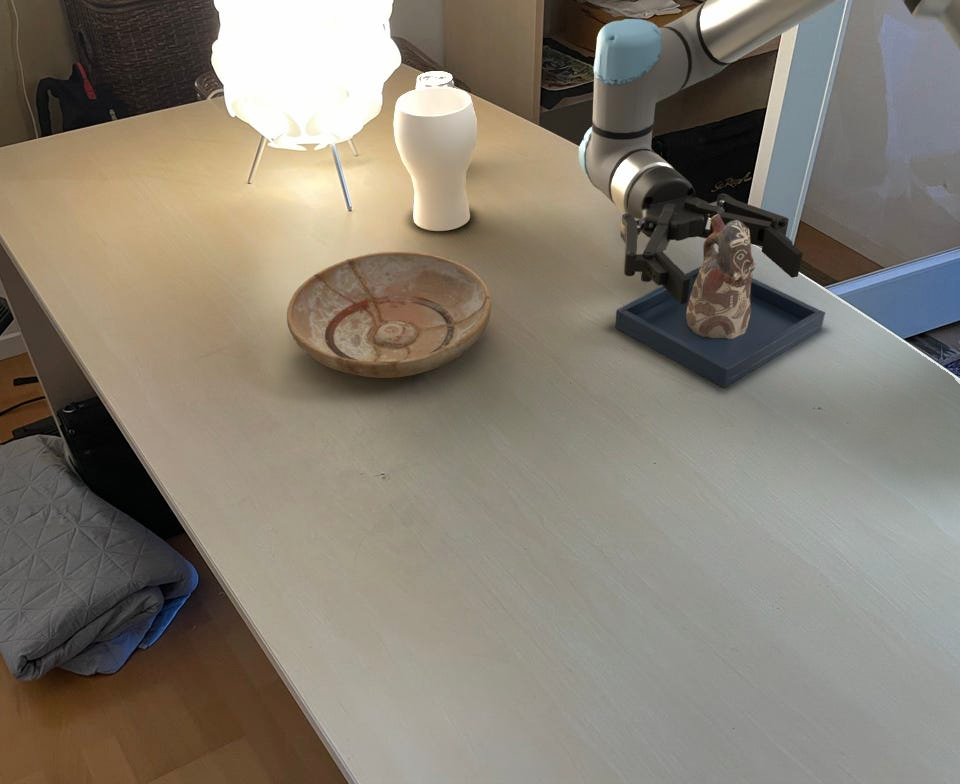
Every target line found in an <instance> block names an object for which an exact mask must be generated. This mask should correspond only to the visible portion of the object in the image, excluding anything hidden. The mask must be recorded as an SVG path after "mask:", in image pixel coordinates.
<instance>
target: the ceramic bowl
mask: <svg viewBox="0 0 960 784" xmlns="http://www.w3.org/2000/svg"><path fill="white" fill-rule="evenodd" d="M491 312H492V301H491V295H490V292H489V289H488V287H487V286H486V284H485V283H484V281H483V280H482V278H481V277H480V276H478V275H477V274H476V273H475V272H474V271H473V270H471V269H470V268H468V267H466V266H465V265H463V264H461V263H459V262H457V261H454V260H452V259H449V258H445V257H442V256H439V255H434V254H430V253H426V252H425V253H424V252H416V251H379V252H373V253H367V254H362V255H358V256H355V257H352V258H347V259H345V260H343V261H339V262H336V263H334V264H332V265H330V266H328V267H326V268H324V269H322V270H320V271H318V272H316V273H315V274H313V275H312V276H310V277H309V278H307V280H305V281H304V282H303V283H302V284H301V285H300V286H299V287H298V288H297V289H296V291H294V293H293V294H292V297H291V298H290V300H289V303H288V306H287V310H286V322H287V323H286V324H287V327H288V331H289V333H290V334H291V336H292V338H293V341H295V343H296V344H297V345H298V347H299V348H300V349H301V350H303V351H304V352H305V353H306V354H307V355H308V356H309V357H311V358H312V359H313V360H315V361H317V362H319V363H320V364H321V365H323V366H326V367H328V368H331V369H333V370H336V371H340V372H343V373H347V374H351V375H357V376H361V377H367V378H379V379H383V378H387V379H388V378H401V377H409V376H414V375H418V374H421V373H425V372H428V371H431V370H434V369H437V368H439V367H443V366H444V365H446V364H449V363H451V362H452V361H454V360H455V359H457V358H459V357H460V356H462V354H464V353H465V352H466V351H467V350H469V349H471V347H473V345H474V344H475V343H476V342H477V340H478V339H479V338H480V337H481V335H483V332H484V331H485V330H486V329H487V326H488V323H489V320H490V317H491Z"/></svg>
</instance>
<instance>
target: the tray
mask: <svg viewBox="0 0 960 784" xmlns="http://www.w3.org/2000/svg"><path fill="white" fill-rule="evenodd" d="M701 267H702V265H701V266H699V267H697V268H695V269H693V270H691V271H689V272H687V273H684V274H685V275H686V276H687V277H688V278H689V279H690V284H689V292H688V300H687V303H684V304H680V303H679V302H678V301H677V300H676V299H675V298H674V297H673V295H672V294H671V293H670V292H669V291H668V290H667V289H666V288H665V287H664V286H663V285H661V286H660V287H658V288H656V289H654V290H652V291H650V292H648V293H646V294H645V295H642V296H640V297H638V298H637V299H635V300H633V301H631V302H629V303H627V304H625V305H623V306H621V307H619V308H618V309H616V310H615V311H616V312H615V322H614V323H615V325H614V326H615V327H614V328H615V329H617V330H619V331H620V332H622V333H624V334H626V335H628V336H630V337H631V338H632V339H635V340H636V341H639V342H641V343H642V344H644V345H645V346H648V347H649V348H651V349H653V350H655V351H656V352H659V353H660V354H662V355H664V356H665V357H667V358H669V359H671V360H672V361H674V362H676V363H678V364H680V365H682V366H683V367H686V368H687V369H688V370H691V371H692V372H694V373H696V374H698V375H700V376H701V377H703V378H705V379H707V380H709V381H711V382H712V383H714V384H716V385H717V386H719V387H721V388H723V389H724V388H727V387H728V386H730V385H731V384H733V383H735V382H737V381H739V379H742V378H743V377H746V376H747V375H748V374H750V373H751V372H753V371H755V370H757V369H758V368H761V366H763V365H766V364H767V363H768V362H770V361H772V360H773V359H775V358H777V357H779V356H781V355H782V354H784V353H785V352H787V351H789V350H791V349H792V348H794V347H795V346H797V345H799V344H800V343H802V342H804V341H805V340H807V339H809V338H811V337H812V336H815V334H817V333H819V332H821V331H822V327H823V323H824V319H825V315H826V312H825V311H823V310H821V309H819V308H817V307H814V306H813V305H810V304H808V303H806V302H805V301H802V300H800V299H797V298H796V297H793V296H791V295H789V294H787V293H784V292H783V291H780V290H779V289H777V288H774V287H772V286H770V285H768V284H765V283H763V282H761V281H759V280H757V279H755V278H753V277H752V282H751V297H750V303H751V314H750V319H749V322H748V325H747V328H746V331H745V333H744V334H742V335H739V336H737V337H735V338H733V339H727V338H709V337H702V336H700V335H698V334H696V333H694V332H693V331H692V330H691V329H690V327H689V326H688V325H687V317H686V313H687V307H688V303H689V300H690V296H691V292H692V289H693V286H694V283H695V280H696V278H697V275H698V272H699V270H700V268H701Z"/></svg>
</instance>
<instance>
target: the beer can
mask: <svg viewBox="0 0 960 784" xmlns="http://www.w3.org/2000/svg"><path fill="white" fill-rule="evenodd" d="M427 87H450V88H455V82H454V80H453V75H452V74H451V73H448V72H446V71H437V70H435V71H427V72H425V73H421V74H420V75H418V76H417V78H416V85H415V90H416V89H421V88H427Z"/></svg>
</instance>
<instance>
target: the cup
mask: <svg viewBox="0 0 960 784" xmlns="http://www.w3.org/2000/svg"><path fill="white" fill-rule="evenodd" d="M476 115H477V114H476V112H475V108H474V104H473V100H472V97H471V95H470V94H469V93H467V92H466V91H464V90H462V89H459V88H455V87H454V88H450V87H427V88H421V89H416V88H415V89H413V90H410V91H407V92H406V93H404V94H402V95H401V96H400V97H398V99H397V101H396V102H395V109H394V118H393V132H394V142H395V145H396V148H397V151H398V154H399V156H400V159H401V161H402V163H403V165H404V167H405V169H406V170H407V171H408V173H409V174H410V177H411V181H412V185H413V189H414V203H413V222H414V224H415V225H416V226H417V227H419V228H421V229H423V230H426V231H433V232H445V231H450V230H455V229H458V228H460V227H462V226H464V225H466V224H467V223H468V222H469V221H470V219H471V211H470V206H469V202H468V201H469V200H468V196H467V193H466V184H467V183H466V182H467V172H468V169H469V167H470V164H471V162H472V160H473V159H474V153H475V149H476V144H477V141H478V119H477V116H476Z"/></svg>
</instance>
